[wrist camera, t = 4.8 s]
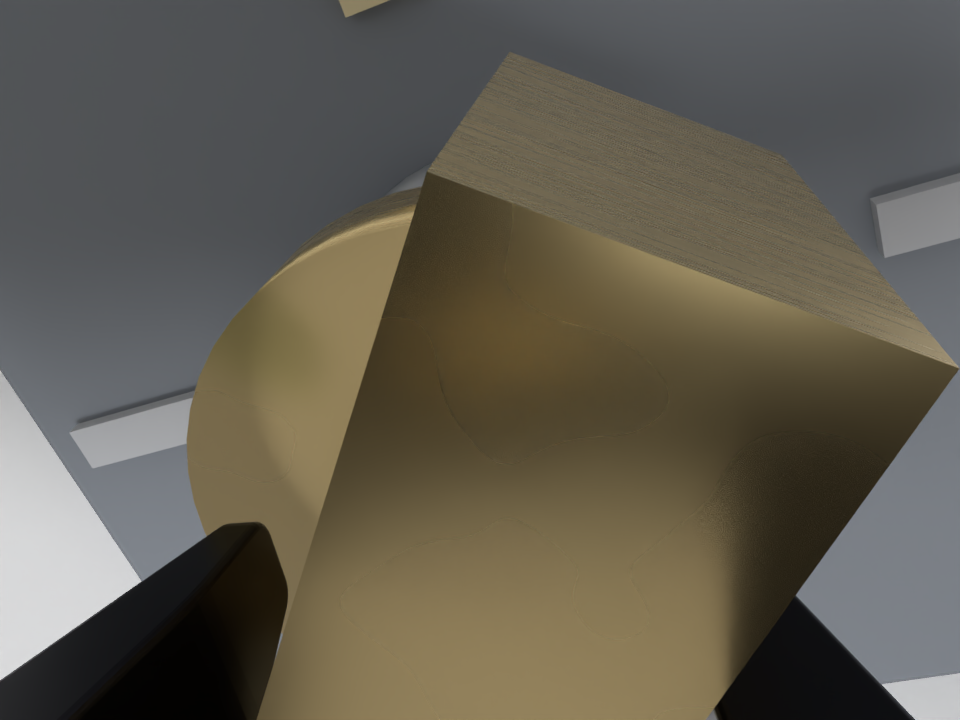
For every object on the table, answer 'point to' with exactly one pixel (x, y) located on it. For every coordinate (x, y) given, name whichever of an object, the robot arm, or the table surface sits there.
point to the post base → (339, 111)
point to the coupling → (556, 417)
